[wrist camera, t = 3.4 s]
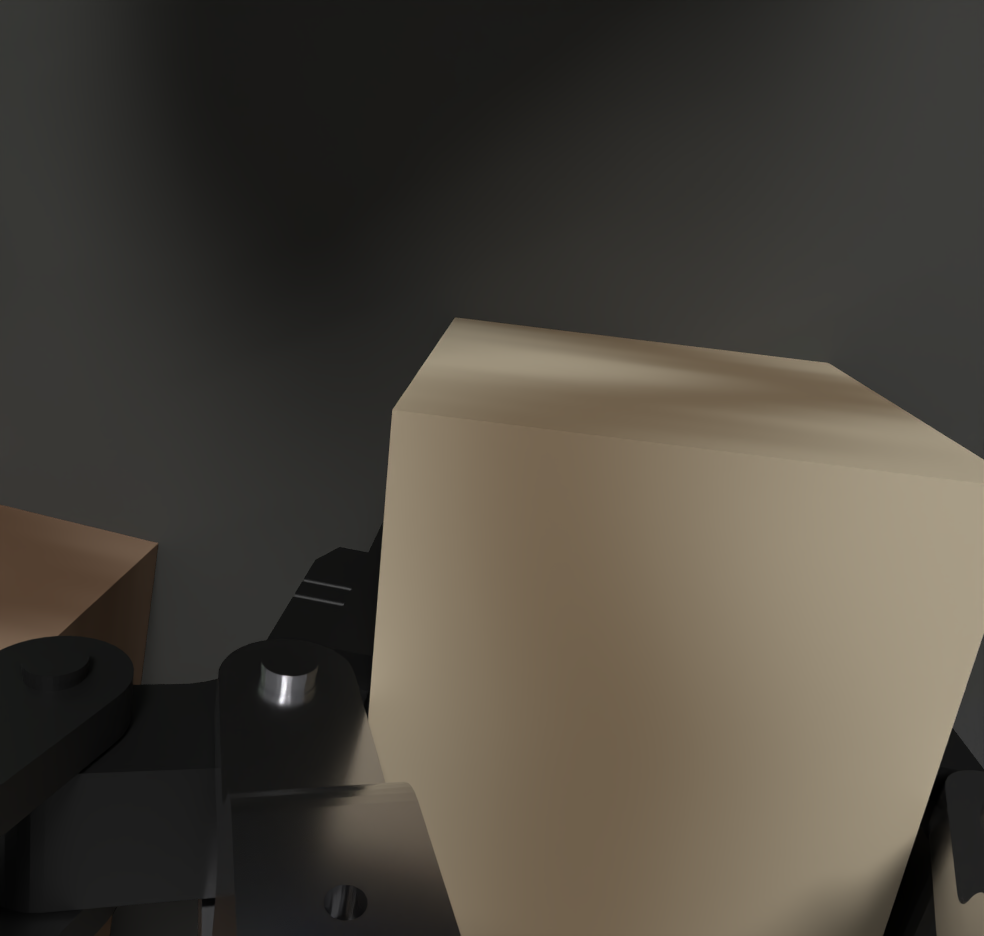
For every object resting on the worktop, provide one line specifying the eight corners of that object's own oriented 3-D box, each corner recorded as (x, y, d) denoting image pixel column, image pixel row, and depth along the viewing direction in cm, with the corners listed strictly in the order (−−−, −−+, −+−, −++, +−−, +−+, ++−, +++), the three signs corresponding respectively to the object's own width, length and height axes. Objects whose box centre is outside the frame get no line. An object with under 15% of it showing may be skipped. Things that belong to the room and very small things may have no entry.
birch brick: (827, 363, 11) (1032, 489, 7) (711, 846, 14) (798, 1188, 9) (455, 317, 11) (392, 409, 7) (406, 805, 14) (336, 1122, 9)
